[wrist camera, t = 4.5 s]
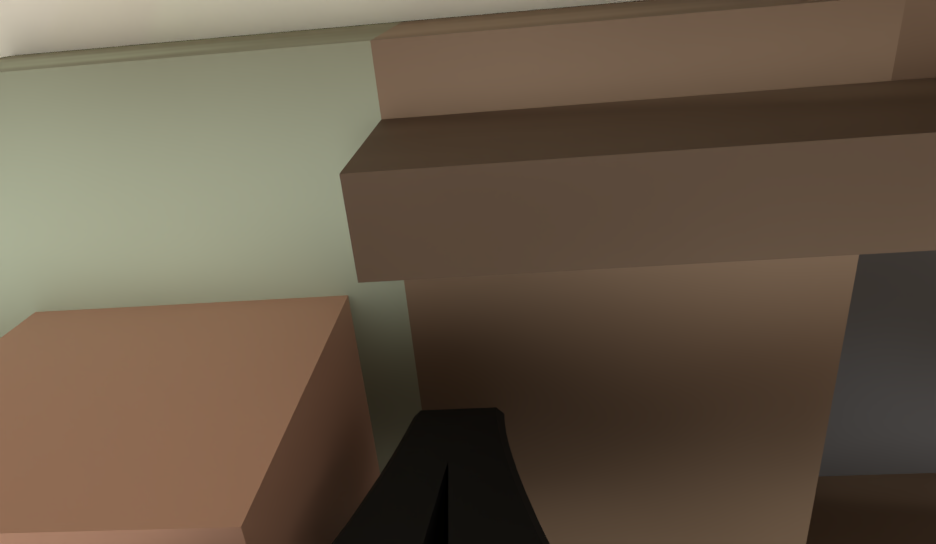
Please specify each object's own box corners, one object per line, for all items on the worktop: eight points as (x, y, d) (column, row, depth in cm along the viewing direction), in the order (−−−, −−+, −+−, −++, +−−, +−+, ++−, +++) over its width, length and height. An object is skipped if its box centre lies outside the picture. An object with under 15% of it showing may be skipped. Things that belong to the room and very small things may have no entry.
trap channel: (1119, 525, 15) (1429, 807, 10) (189, 548, 17) (56, 798, 12) (1386, -65, 10) (2291, -94, 5) (10, 55, 12) (-360, 125, 7)
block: (391, 537, 12) (335, 832, 8) (131, 544, 12) (-51, 827, 8) (347, 295, 10) (240, 527, 6) (34, 312, 10) (-271, 540, 6)
